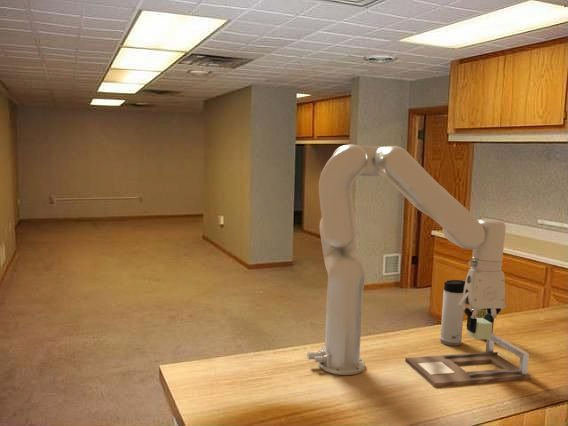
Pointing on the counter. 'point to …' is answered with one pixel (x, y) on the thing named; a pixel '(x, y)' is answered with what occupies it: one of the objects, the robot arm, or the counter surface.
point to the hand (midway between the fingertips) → (479, 330)
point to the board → (449, 373)
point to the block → (482, 329)
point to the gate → (514, 349)
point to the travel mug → (452, 313)
